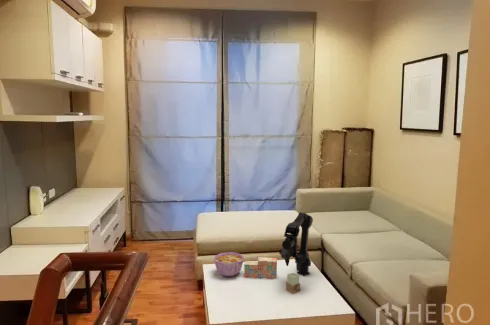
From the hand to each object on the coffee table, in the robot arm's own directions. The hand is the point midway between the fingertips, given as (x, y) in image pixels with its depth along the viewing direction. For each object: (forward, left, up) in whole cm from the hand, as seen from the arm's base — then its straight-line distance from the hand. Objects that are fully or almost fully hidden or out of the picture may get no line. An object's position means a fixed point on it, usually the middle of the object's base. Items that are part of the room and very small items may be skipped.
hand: (292, 268), depth 237 cm
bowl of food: (+23, -38, -12) cm, 46 cm away
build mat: (+6, +6, -11) cm, 14 cm away
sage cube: (+5, +6, -6) cm, 10 cm away
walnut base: (+5, +6, -11) cm, 14 cm away
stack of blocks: (+8, -22, -12) cm, 26 cm away
